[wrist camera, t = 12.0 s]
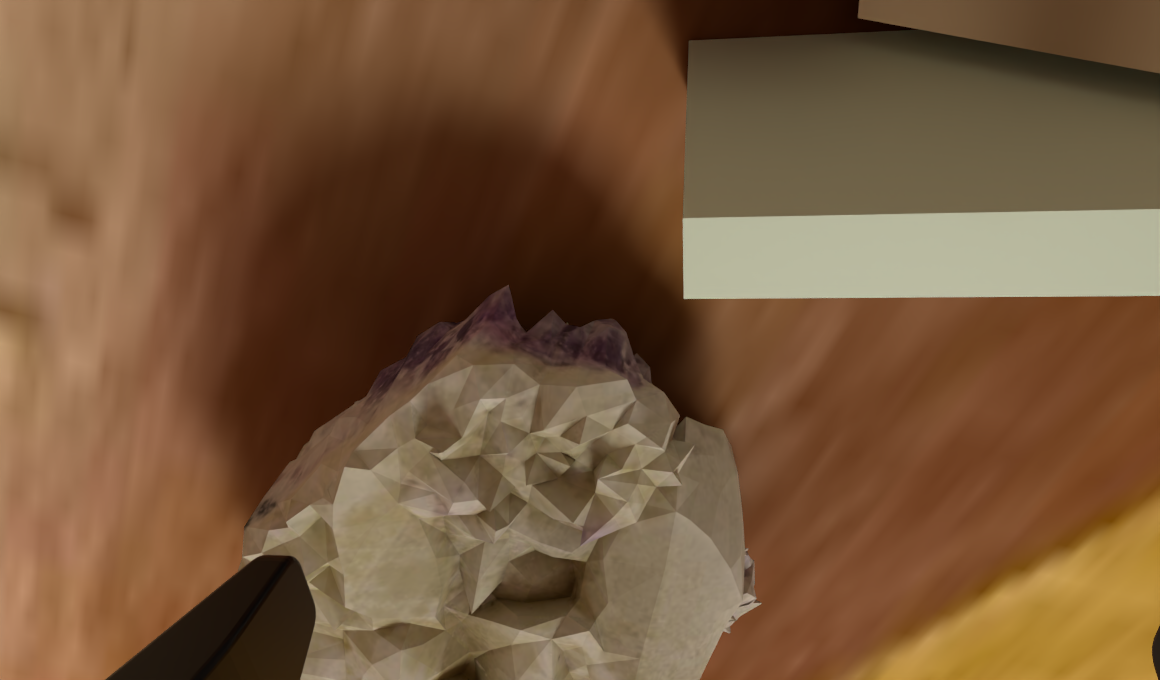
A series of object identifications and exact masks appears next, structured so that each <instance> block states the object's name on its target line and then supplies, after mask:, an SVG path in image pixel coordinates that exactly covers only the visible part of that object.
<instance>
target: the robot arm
mask: <svg viewBox="0 0 1160 680" xmlns="http://www.w3.org/2000/svg"><path fill="white" fill-rule="evenodd" d="M315 620H316V608H315V603H314V600H313V597H312V594H311V591H310V589H309V586H308V583H307V580H306V578H305V575H304V572H303V569H302V566H301V564H300V562H299V561H298V560H297V559H296V558H295V557H293V556H287V555H262V556H259V557H257V558H255V559H253V560H252V561H251V562H249V563H248V564H247V565H246V566H244V567H243V568H242V569H241V570H239V571H238V572H237V573H236V574H235V575H233V576H232V577H231V578H230V579H228V580H227V581H226V582H225V583H223V584H222V585H221V586H220V587H219V588H217V589H216V590H215V591H214V592H212V593H211V594H210V595H209V596H208V597H206V598H205V599H204V600H203V601H201V602H200V603H199V604H198V605H196V606H195V607H194V608H193V609H192V610H190V611H189V612H188V613H187V614H185V615H184V616H183V617H182V618H180V619H179V620H178V621H177V622H176V623H174V624H173V625H172V626H171V627H169V628H168V629H167V630H166V631H164V632H163V633H162V634H161V635H160V636H158V637H157V638H156V639H155V640H153V641H152V642H151V643H150V644H148V645H147V646H146V647H145V648H144V649H142V650H141V651H140V652H139V653H137V654H136V655H135V656H134V657H132V658H131V659H130V660H129V661H128V662H126V663H125V664H124V665H123V666H121V667H120V668H119V669H118V670H116V671H115V672H114V673H113V674H112V675H110V676H109V677H108V678H107V679H105V680H300V679H301V675H302V672H303V668H304V664H305V660H306V657H307V653H308V649H309V645H310V642H311V638H312V634H313V630H314V626H315ZM1152 656H1153V663H1154V667H1155V670H1156V673H1157V677H1158V680H1160V626H1159V628H1158V631H1157V633H1156V635H1155V637H1154V641H1153V646H1152Z"/></svg>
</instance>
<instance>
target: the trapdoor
mask: <svg viewBox="0 0 1160 680" xmlns="http://www.w3.org/2000/svg"><path fill="white" fill-rule="evenodd" d="M858 18H860V19H865V20H871V21H876V22H881V23H887V24H892V25H898V26H903V27H909V28H914V29H920V30H925V31H931V32H936V33H942V34H947V35H952V36H958V37H963V38H969V39H974V40H980V41H985V42H991V43H996V44H1002V45H1007V46H1012V47H1018V48H1023V49H1029V50H1034V51H1040V52H1045V53H1051V54H1056V55H1062V56H1067V57H1072V58H1078V59H1083V60H1089V61H1094V62H1100V63H1105V64H1111V65H1116V66H1122V67H1127V68H1133V69H1138V70H1143V71H1149V72H1154V73H1160V0H859V9H858Z"/></svg>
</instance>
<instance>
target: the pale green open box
mask: <svg viewBox="0 0 1160 680" xmlns="http://www.w3.org/2000/svg"><path fill="white" fill-rule="evenodd" d="M683 280H684V299H738V298H894V297H1051V296H1160V73H1154V72H1149V71H1143V70H1138V69H1133V68H1127V67H1122V66H1116V65H1111V64H1105V63H1100V62H1094V61H1089V60H1083V59H1078V58H1072V57H1067V56H1062V55H1056V54H1051V53H1045V52H1040V51H1034V50H1029V49H1023V48H1018V47H1012V46H1007V45H1002V44H996V43H991V42H985V41H980V40H974V39H969V38H963V37H958V36H952V35H947V34H942V33H936V32H931V31H925V30H901V31H880V32H859V33H838V34H816V35H795V36H774V37H753V38H731V39H710V40H689V49H688V79H687V109H686V139H685V169H684V200H683Z"/></svg>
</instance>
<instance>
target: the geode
mask: <svg viewBox="0 0 1160 680" xmlns="http://www.w3.org/2000/svg"><path fill="white" fill-rule="evenodd" d="M679 418H680V415H679V413H678V412H677V410H676V409H675V408H674V406H673V405H672V403H671V402H670V400H669V399H668V397H667V396H666V394H665V393H664V392H663V391H661V390H660V389H658V388H657V387H655V386H654V385H653V384H652V382H651V371H650V367H649V366H648V364H647V363H646V362H645V361H644V360H643V359H642V358H641V357H640V356H639V355H638V354H637V353H636V354H635V355H633V352H632V349H631V346H630V343H629V340H628V336H627V333H626V332H625V330H624V329H623V328H622V327H621V326H620V324H619V323H618V322H617V321H616V320H614V319H601V320H594V321H592V322H590V323H588V324H586V325H584V326H582V327H577V326H573V325H568V322H567V323H566V324H565V323H564V321H563V320H562V319H561V318H560V317H559V316H558V315H557V314H556V313H555V312H554V311H553V310H552V311H550V312H549V313H548V314H547V315H546V316H545V317H544V318H542V319H541V320H540V321H539V322H538V323H537V324H536V325H534V326H533V327H532V328H531V329H530V330H529V331H528V332H526V331H525V330H524V329H523V328H522V327H521V325H520V324H519V322H518V320H517V318H516V314H515V309H514V305H513V301H512V296H511V292H510V288H509V285H507V286H505V287H504V288H502V289H500V290H498V291H496V292H495V293H493V294H491V295H489V296H488V297H487V298H486V299H485V300H484V301H483V302H482V303H481V304H480V305H479V306H478V307H477V308H476V310H475V311H474V312H473V313H472V314H471V315H470V316H469V317H468V318H467V319H466V320H464V321H461V322H458V323H454V322H439V323H437V324H436V325H434V326H432V327H431V328H429V329H428V330H426V331H424V332H423V333H421V334H420V335H418V336H417V338H416V340H415V342H414V344H413V345H412V347H411V349H410V351H409V353H408V355H407V357H405V358H403V359H401V360H400V361H398V362H396V363H394V364H392V365H390V366H388V367H386V368H385V369H383V370H381V371H380V373H379V375H378V376H377V378H376V380H375V382H374V383H373V385H372V387H371V389H370V391H369V392H368V394H367V396H366V397H364V398H363V399H361V400H360V401H356V402H355V403H354V405H352V406H351V407H349V408H348V409H346V410H345V411H343V412H342V413H340V414H339V415H337V416H336V417H335V418H333V419H332V420H330V421H329V422H327V423H326V424H324V425H323V426H321V427H320V428H318V429H317V430H315V431H314V433H313V435H312V437H311V439H310V441H309V442H307V443H306V444H305V445H304V446H303V448H302V450H301V451H300V453H299V455H298V457H297V458H296V459H295V460H293V461H291V462H289V463H288V465H287V466H286V468H285V469H284V470H283V472H282V473H281V474H280V476H279V477H278V478H277V480H276V481H275V482H274V484H273V485H272V486H271V488H270V489H269V491H268V492H267V493H266V495H265V496H264V497H263V499H262V501H261V502H260V504H259V505H258V507H257V508H256V510H255V511H254V513H253V514H252V516H251V517H250V519H249V520H248V522H247V523H246V525H245V526H244V540H243V554H242V560H241V563H240V566H239V569H238V571H239V570H241V569H242V568H243V567H244V566H246V565H247V564H248V563H249V562H251V561H252V560H253V559H255V558H257V557H259V556H262V555H287V556H293V557H295V558H296V559H297V560H298V561H299V562H300V564H301V566H302V569H303V572H304V575H305V578H306V580H307V583H308V586H309V589H310V591H311V594H312V597H313V600H314V603H315V608H316V620H315V626H314V630H313V634H312V638H311V642H310V645H309V649H308V653H307V657H306V660H305V664H304V668H303V672H302V675H301V679H300V680H700V677H701V675H702V673H703V671H704V669H705V667H706V665H707V663H708V661H709V659H710V657H711V655H712V653H713V651H714V649H715V647H716V645H717V643H718V640H719V638H720V636H721V634H722V632H723V631H725V632H728V633H730V626H731V625H732V624H733V623H734V622H735V621H736V620H737V619H738V618H739V617H740V616H741V615H743V614H745V613H746V612H748V611H750V610H751V609H753V608H755V607H757V606H758V605H760V604H762V603H761V602H759V601H757V600H756V595H755V590H754V584H755V572H754V560H752V559H751V558H750V557H749V555H748V553H747V550H748V549H747V548H745V543H744V528H743V514H742V504H741V495H740V486H739V477H738V471H737V467H736V463H735V459H734V456H733V452H732V448H731V445H730V443H729V441H728V439H727V437H726V435H725V433H724V431H723V429H719V428H715V427H711V426H708V425H704V424H702V423H700V422H697V421H695V420H693V419H691V418H688V417H685V418H684V419H683V421H682V422H681V423H680V424H679V425H677V423H678V421H679Z"/></svg>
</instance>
